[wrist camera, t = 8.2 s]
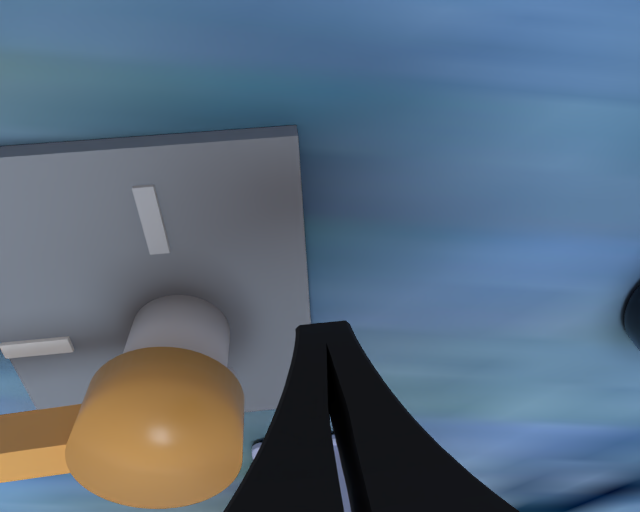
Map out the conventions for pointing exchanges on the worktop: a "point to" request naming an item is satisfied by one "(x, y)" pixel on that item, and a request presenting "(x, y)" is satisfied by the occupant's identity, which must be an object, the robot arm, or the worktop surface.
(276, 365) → the plate
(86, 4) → the worktop surface
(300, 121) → the worktop surface
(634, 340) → the supplement bottle
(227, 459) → the crank handle
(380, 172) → the worktop surface
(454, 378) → the worktop surface
